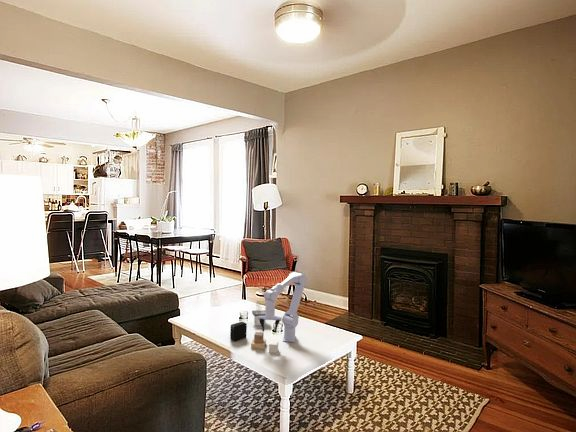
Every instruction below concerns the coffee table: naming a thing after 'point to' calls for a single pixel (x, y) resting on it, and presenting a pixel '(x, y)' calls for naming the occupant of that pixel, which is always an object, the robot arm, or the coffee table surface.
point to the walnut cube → (258, 337)
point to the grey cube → (273, 346)
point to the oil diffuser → (258, 313)
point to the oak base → (258, 344)
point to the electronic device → (238, 331)
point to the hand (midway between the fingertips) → (269, 331)
